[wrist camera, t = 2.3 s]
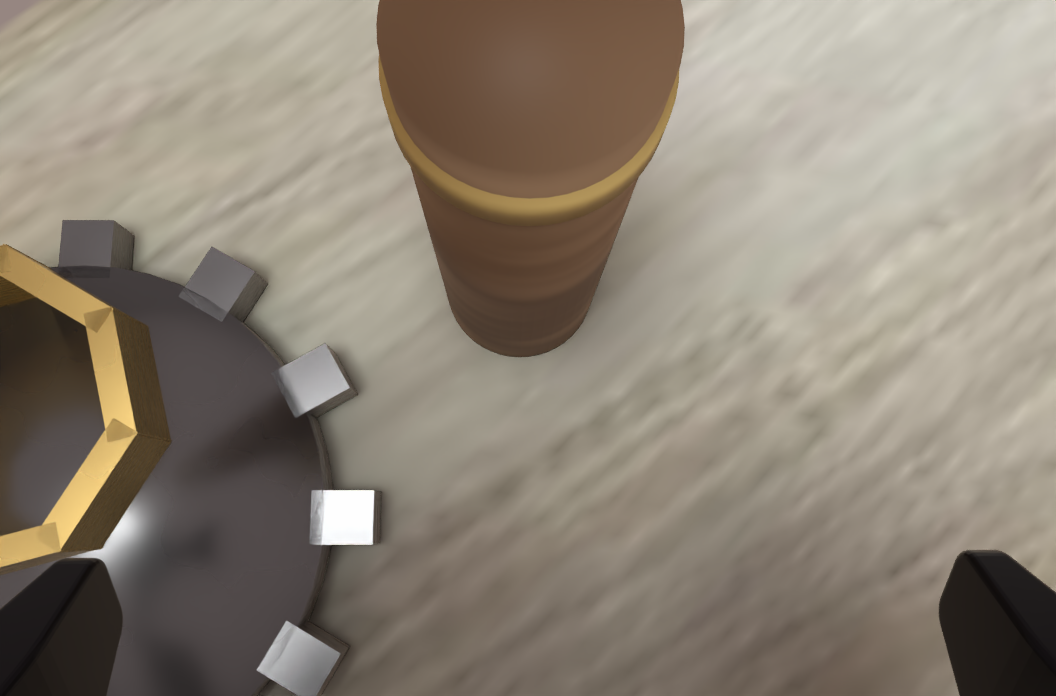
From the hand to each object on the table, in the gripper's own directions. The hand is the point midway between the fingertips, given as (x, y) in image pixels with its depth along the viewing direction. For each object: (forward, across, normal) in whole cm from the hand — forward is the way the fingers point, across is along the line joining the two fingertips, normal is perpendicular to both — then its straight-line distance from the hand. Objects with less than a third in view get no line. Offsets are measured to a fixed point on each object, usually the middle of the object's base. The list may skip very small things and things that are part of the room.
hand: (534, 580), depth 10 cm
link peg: (+13, 0, +4) cm, 14 cm away
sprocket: (+9, +10, +8) cm, 16 cm away
